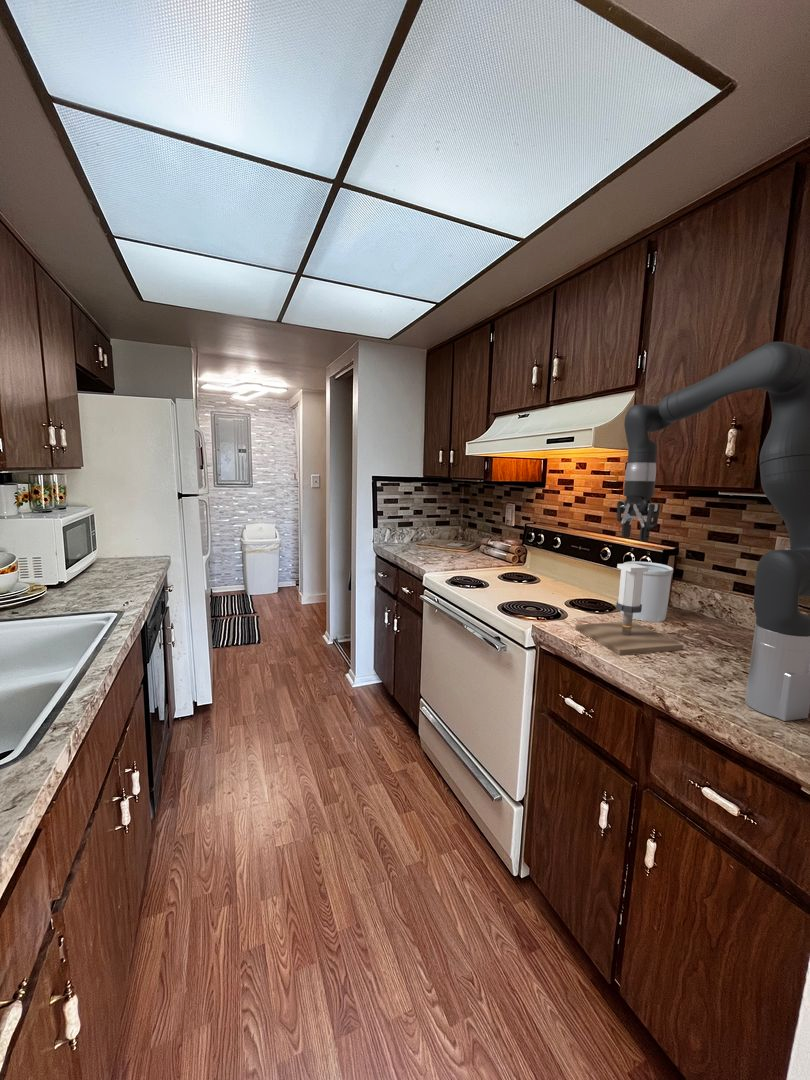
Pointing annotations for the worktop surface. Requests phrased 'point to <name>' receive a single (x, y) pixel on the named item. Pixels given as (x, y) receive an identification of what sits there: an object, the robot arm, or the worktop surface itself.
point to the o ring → (628, 608)
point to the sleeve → (631, 584)
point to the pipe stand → (628, 637)
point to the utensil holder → (654, 592)
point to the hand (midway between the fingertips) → (634, 539)
